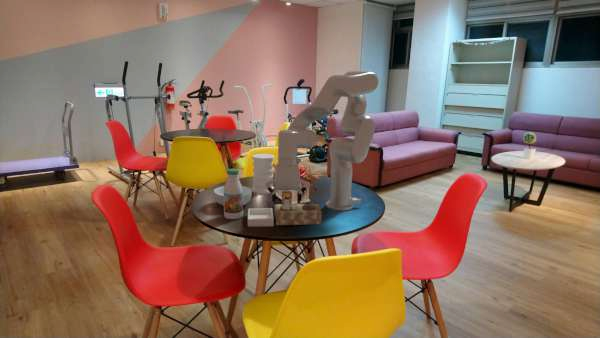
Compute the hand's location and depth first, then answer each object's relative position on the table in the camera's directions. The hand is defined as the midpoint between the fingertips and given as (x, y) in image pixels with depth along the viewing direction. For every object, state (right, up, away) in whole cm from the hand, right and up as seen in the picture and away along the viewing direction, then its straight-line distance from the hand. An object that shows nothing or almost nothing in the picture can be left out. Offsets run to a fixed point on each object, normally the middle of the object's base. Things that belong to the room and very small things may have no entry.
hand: (286, 202), depth 150 cm
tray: (-11, -7, +1) cm, 13 cm away
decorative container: (-13, +3, +39) cm, 42 cm away
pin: (0, -7, +2) cm, 7 cm away
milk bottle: (-22, -6, +4) cm, 23 cm away
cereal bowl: (-25, -3, +17) cm, 30 cm away
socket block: (+4, -7, +2) cm, 9 cm away
